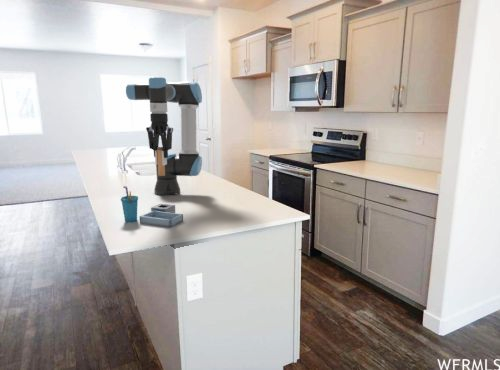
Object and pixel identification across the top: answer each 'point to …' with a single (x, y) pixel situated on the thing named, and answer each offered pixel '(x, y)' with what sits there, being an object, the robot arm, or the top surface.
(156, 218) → the tray
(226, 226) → the top surface
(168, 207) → the hitch block
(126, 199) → the cup
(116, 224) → the top surface
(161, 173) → the pin
